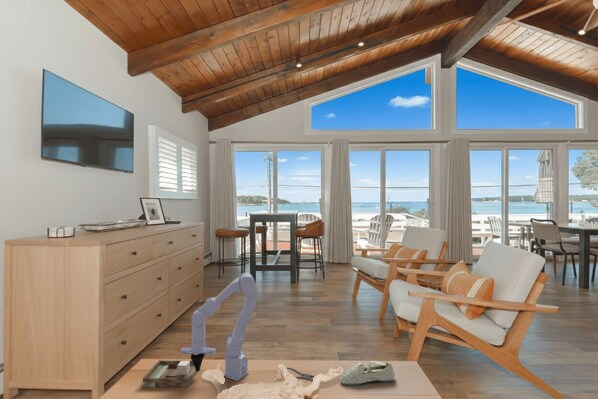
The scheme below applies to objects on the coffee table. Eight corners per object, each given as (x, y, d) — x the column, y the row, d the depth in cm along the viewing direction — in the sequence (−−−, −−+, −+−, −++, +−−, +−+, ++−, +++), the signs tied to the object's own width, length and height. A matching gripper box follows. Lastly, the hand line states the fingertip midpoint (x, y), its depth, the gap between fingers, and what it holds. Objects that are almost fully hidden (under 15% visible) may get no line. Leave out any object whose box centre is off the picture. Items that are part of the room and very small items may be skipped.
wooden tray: (199, 368, 150) (199, 360, 150) (188, 387, 134) (188, 378, 134) (158, 368, 150) (159, 360, 150) (142, 387, 134) (142, 378, 134)
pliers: (279, 366, 152) (322, 369, 149) (279, 368, 152) (322, 371, 149) (274, 376, 142) (320, 380, 139) (274, 378, 142) (320, 382, 139)
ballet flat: (336, 377, 144) (336, 359, 144) (388, 372, 148) (388, 355, 148) (342, 388, 135) (342, 368, 135) (398, 383, 139) (398, 364, 139)
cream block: (189, 370, 144) (189, 361, 144) (186, 374, 140) (186, 365, 140) (180, 370, 144) (180, 361, 144) (177, 374, 140) (177, 365, 140)
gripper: (178, 342, 139) (177, 375, 138) (212, 342, 139) (212, 375, 138) (184, 335, 146) (183, 366, 145) (216, 336, 146) (216, 367, 145)
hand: (197, 370), depth 142 cm, fingers closed
